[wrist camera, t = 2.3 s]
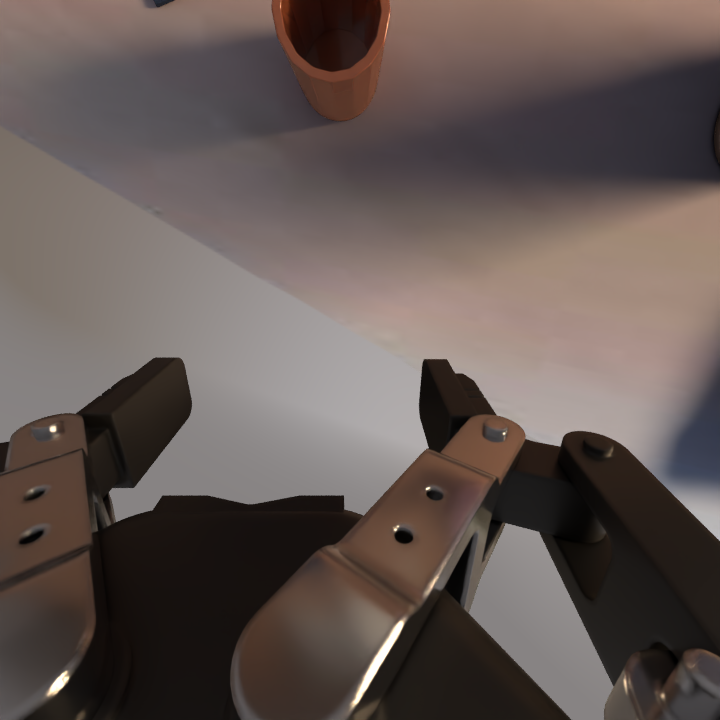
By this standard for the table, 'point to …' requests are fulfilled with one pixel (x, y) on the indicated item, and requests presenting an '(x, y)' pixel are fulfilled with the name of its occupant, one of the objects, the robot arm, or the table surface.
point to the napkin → (162, 2)
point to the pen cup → (334, 50)
